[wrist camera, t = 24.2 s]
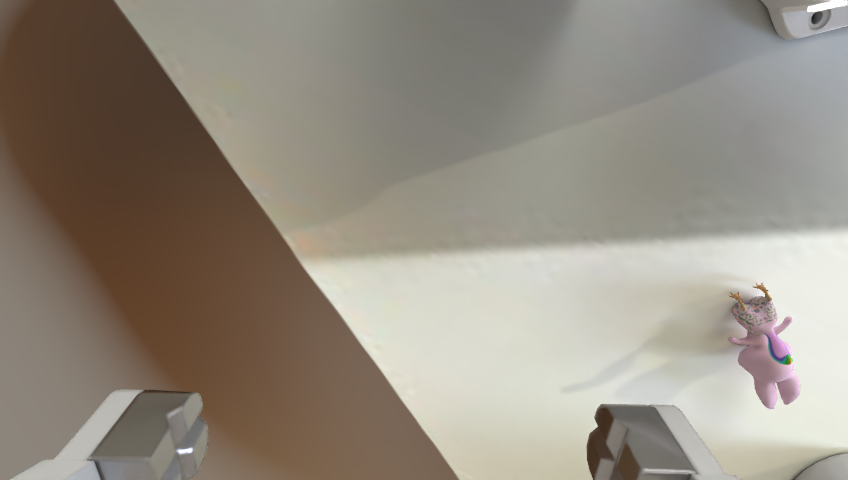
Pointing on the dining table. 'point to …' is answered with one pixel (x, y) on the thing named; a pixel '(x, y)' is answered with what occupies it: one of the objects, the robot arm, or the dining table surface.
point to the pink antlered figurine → (766, 350)
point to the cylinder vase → (827, 469)
